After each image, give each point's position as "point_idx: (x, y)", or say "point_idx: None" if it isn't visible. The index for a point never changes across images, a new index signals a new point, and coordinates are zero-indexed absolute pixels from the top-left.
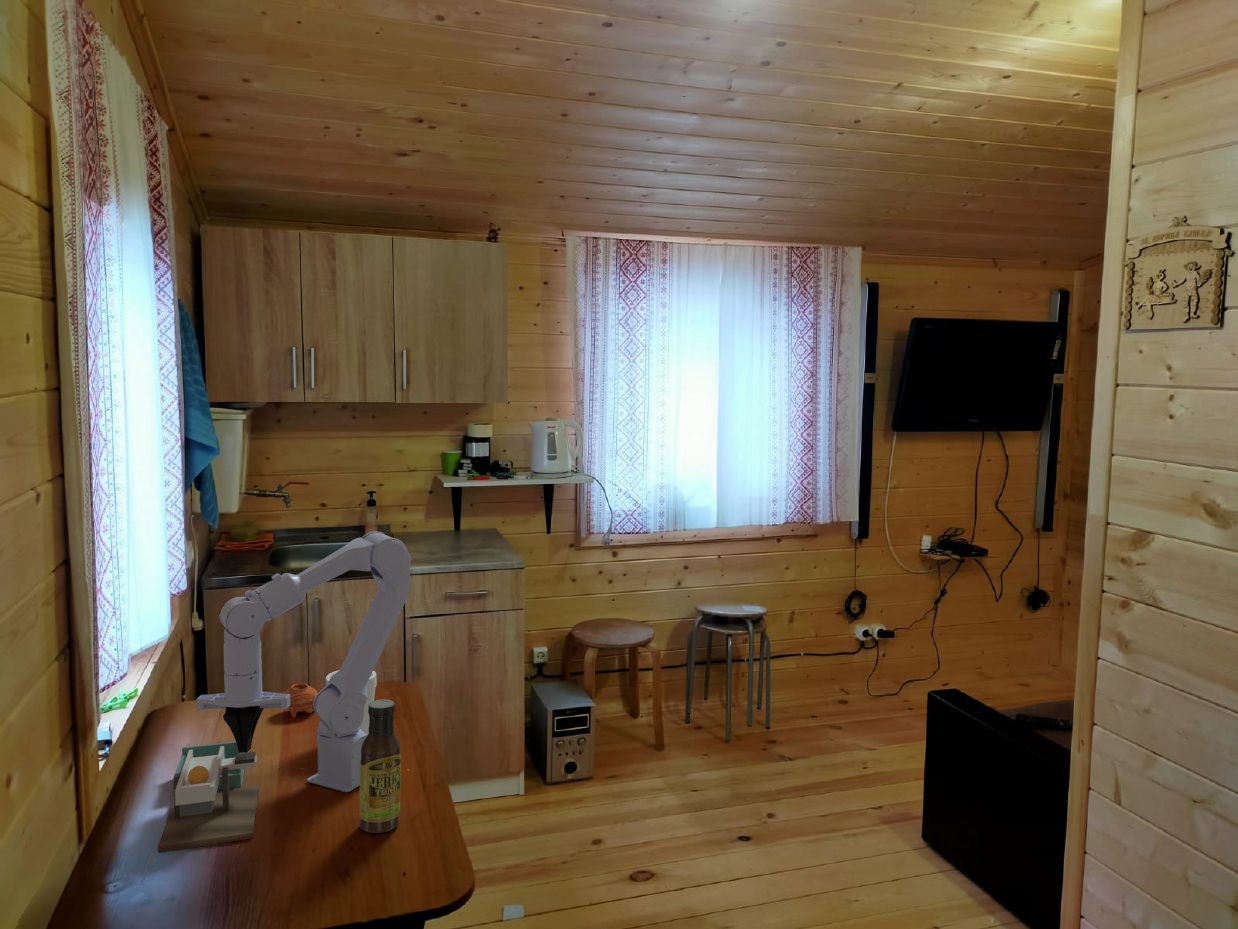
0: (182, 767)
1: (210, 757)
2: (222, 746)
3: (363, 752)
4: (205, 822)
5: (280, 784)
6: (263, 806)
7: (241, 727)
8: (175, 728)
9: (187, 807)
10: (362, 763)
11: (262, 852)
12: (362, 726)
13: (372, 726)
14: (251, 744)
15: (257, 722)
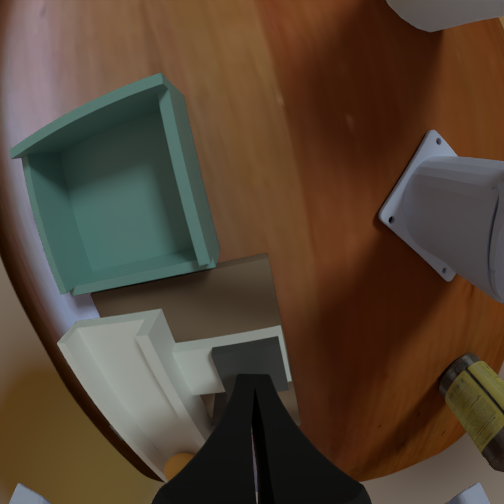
0: (48, 223)
1: (124, 336)
2: (142, 337)
3: (490, 465)
4: (209, 401)
5: (314, 216)
6: (296, 326)
7: (258, 501)
8: None
9: None
10: (483, 452)
11: (318, 436)
12: (469, 22)
13: None
14: (272, 383)
15: (312, 445)
